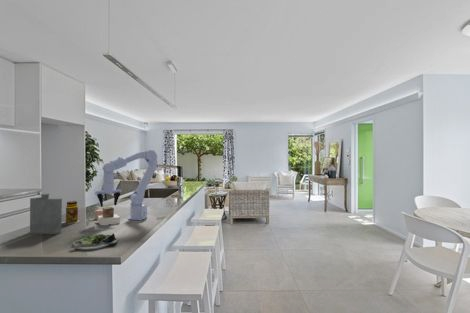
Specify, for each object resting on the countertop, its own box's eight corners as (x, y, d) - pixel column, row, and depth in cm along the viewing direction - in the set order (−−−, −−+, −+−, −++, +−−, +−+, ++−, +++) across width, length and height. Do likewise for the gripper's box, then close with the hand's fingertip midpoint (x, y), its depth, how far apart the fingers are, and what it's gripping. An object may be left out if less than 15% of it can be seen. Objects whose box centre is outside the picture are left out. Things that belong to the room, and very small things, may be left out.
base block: (115, 220, 173) (115, 213, 173) (119, 223, 165) (120, 217, 165) (97, 222, 167) (97, 216, 167) (101, 226, 159) (101, 219, 159)
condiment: (73, 223, 163) (73, 202, 163) (59, 223, 164) (59, 202, 164) (81, 220, 170) (81, 200, 170) (68, 220, 171) (68, 200, 171)
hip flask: (62, 232, 146) (63, 193, 146) (57, 234, 142) (57, 194, 142) (33, 231, 147) (33, 192, 147) (27, 233, 143) (27, 193, 143)
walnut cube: (111, 215, 170) (111, 206, 170) (113, 216, 166) (113, 208, 166) (102, 216, 167) (102, 207, 167) (104, 217, 163) (104, 209, 163)
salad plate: (77, 256, 114) (77, 245, 114) (62, 246, 126) (62, 236, 126) (123, 245, 128) (123, 234, 128) (105, 236, 140) (105, 227, 140)
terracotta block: (106, 217, 180) (106, 209, 180) (103, 219, 175) (103, 210, 175) (97, 217, 180) (97, 209, 180) (94, 219, 175) (94, 211, 175)
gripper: (119, 181, 176) (119, 203, 177) (93, 183, 167) (93, 206, 168) (122, 182, 171) (122, 205, 171) (96, 184, 162) (96, 208, 162)
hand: (108, 205), depth 169 cm, fingers open, 7 cm apart
